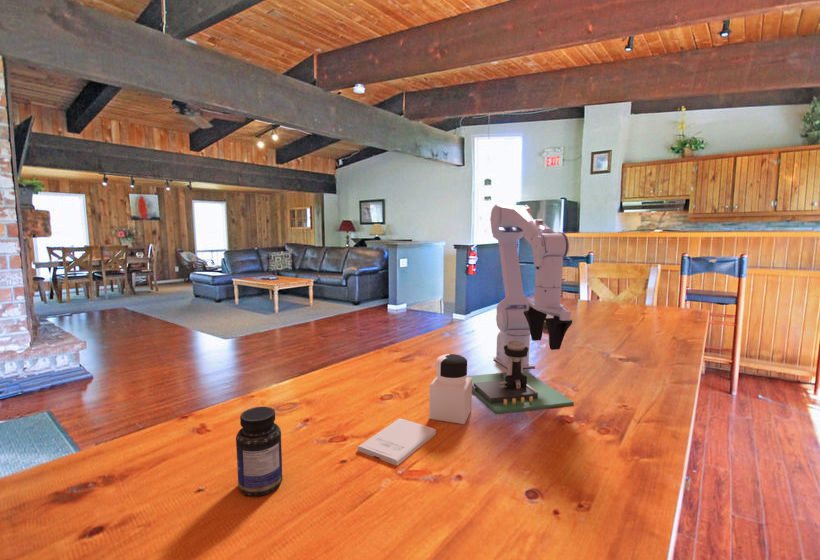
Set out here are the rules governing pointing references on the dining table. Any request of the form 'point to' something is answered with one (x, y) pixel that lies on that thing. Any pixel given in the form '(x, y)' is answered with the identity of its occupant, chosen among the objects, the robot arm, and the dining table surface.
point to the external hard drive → (397, 441)
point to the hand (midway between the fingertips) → (545, 344)
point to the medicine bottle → (450, 390)
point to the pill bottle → (259, 452)
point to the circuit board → (545, 397)
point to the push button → (515, 365)
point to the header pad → (503, 392)
